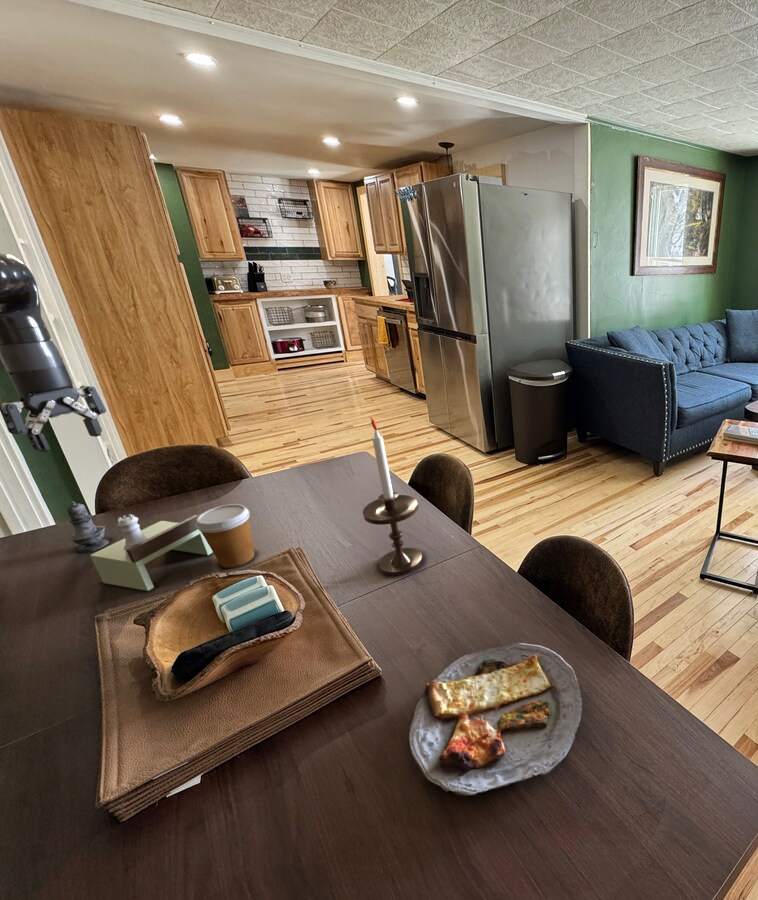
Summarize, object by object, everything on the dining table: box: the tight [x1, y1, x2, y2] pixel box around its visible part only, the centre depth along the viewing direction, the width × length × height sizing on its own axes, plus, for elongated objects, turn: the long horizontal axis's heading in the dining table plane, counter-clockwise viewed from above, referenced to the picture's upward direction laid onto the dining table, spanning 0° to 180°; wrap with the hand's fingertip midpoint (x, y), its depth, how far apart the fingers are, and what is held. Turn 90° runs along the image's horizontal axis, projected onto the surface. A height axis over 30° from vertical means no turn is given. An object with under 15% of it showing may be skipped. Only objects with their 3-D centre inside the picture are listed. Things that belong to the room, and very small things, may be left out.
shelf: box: [89, 514, 214, 592], centre depth 103 cm, size 12×14×10 cm
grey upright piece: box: [66, 500, 110, 553], centre depth 110 cm, size 6×6×12 cm
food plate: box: [407, 641, 583, 797], centre depth 71 cm, size 25×23×4 cm
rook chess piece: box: [116, 513, 149, 555], centre depth 97 cm, size 4×4×8 cm
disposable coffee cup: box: [196, 503, 255, 568], centre depth 105 cm, size 10×10×12 cm
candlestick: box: [362, 416, 423, 577], centre depth 100 cm, size 11×11×35 cm
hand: (71, 443), depth 97 cm, fingers open, 8 cm apart
